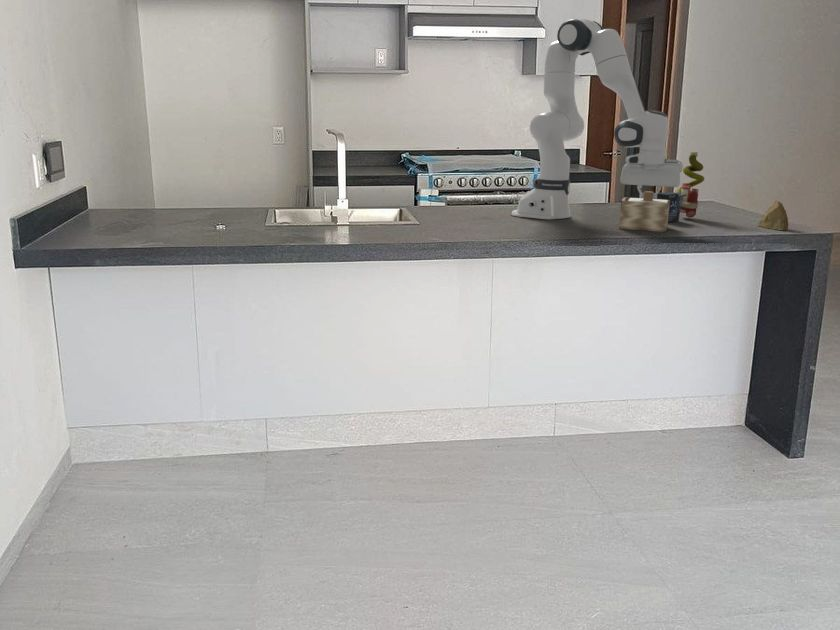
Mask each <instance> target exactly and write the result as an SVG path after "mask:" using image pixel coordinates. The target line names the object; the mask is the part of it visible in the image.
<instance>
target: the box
mask: <svg viewBox="0 0 840 630" xmlns="http://www.w3.org/2000/svg"><path fill="white" fill-rule="evenodd" d="M681 197H682V194H681V193H676V192H673V191H665V192H659V193H658V194H657V199H661V200H670V206H669V216H668V223H674V222H679V221H680V213H681V212H680V206H681Z"/></svg>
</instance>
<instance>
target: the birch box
mask: <svg viewBox="0 0 840 630" xmlns="http://www.w3.org/2000/svg"><path fill="white" fill-rule="evenodd" d="M630 198H631V197H623V198H622V199H621V202H620V211H619V224H618V229H619V230H634V231H650V232H661V233H662V232H664V233H666V232H667V229H668V225H669V222H668V216H669V206H670V200H668V202H667V203H650V202H633V201H628V200H629V199H630ZM642 199H643V198H642ZM659 200H661V199H659Z"/></svg>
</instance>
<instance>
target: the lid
mask: <svg viewBox="0 0 840 630" xmlns="http://www.w3.org/2000/svg"><path fill="white" fill-rule="evenodd" d="M643 193H644V198H643V199H642V198H639V197H629V198H630V199H629V200H628V201H633V202H650V203H667V202H668V200H659V199H652V198H653V193H654V191H650V190H648V191H647V190H645V191H644V192H643Z"/></svg>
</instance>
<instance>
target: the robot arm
mask: <svg viewBox="0 0 840 630" xmlns="http://www.w3.org/2000/svg"><path fill="white" fill-rule="evenodd" d="M556 35H557V36H556V37H557V40H555V41H554V42H552V43H550V44H549V46H548V48H547V51H546V55H545V56H546V57H545V62H544V74H543V75H544V77H543V79H544V80H543V95H544V97H545V99H546V100H547V101H548V104H549V107H550V111H545V112H541V113H539V114H536V115H535V116H534V117H533V118H531V121H530V124H529V131H530V134H531V137H532V138H533V139H534V140H535V142H536V145H537V148H538V153H539V158H540V159H539V160H540V161H539V164H540V165H539V178H538V177H537V178H535V179H534V180H533V187H534V188H533V189H531V190H529V191H528V192H526V193H525V194H524V195H522V196H521V198H520V199H519V202H518V204H517V209H514V210H512V211H511V216H513V217H520V218H521V217H522V218H530V219H542V220H557V219H567V218H571V217H572V215H571V211H570V204H569V203H570V202H569V195H570V189H571V188H570V187H571V180H570V169H571V158H570V156H569V154H567V152H566V149H565V143H564V142H569V141H573V140H575V139H577V138H579V137H580V136H581V135H582V134H583V132H584V129H585V121H584V119H583V117H582V116H581V115H580V112H579V110H578V106H577V103H576V98H575V83H576V81H575V77H576V76H575V75H576V73H575V72H576V61H577V58H578V57H579V55H580V56H585V55H588V54H591V55H592V58H593V61H594V64H595V69H596V72H597V73H596V74H597V76H598V78H599V79H600V82H601V83H602V85H603V86H605V87H606V88H608V89H610V90H612V91H613V92H614V93H615V94H617V96H619V98H620V99H621V102H622V103H623V106H624V109H625V112H626V115H627V119H624V120H623V121H620V122H619V123H617V125H616V126H615V128H614V131H613V137H614V140H615V142H616V144H617V145H618V146H620V147H623V148H628V149H629V148H639V153H635V154H631V155H628V156H625V157H626V158H625V163H624V165H623V167H622V169H621V172H620V173H621V174H620V178H619V179H620V180H619V182H620V183H621V185H630V186H631V185H634V186H636V189H637V191H638V193H639V197H638V198H644V192H642V187H643V186H651V187H656V192H653V198H652V199H657V194H658V193H660V191H661V190H662V187H667V188H668V187H669V188H671V187H672V188H678V187H679V186H680V185H681V184H680V183H681V172H683V167H684V166H683V162H682V161H680V160H679V159H667V158H666V155H667V154H666V153H667V146H666V141H667V140H668V134H669V119H668V118H669V117H668V115H667V114H666V113H664V112H662V111H660V110H653V109H647V110H646V108H645V106H644V102H643V100H642V96H641V94H640V91H639V88H638V85H637V84H636V81H635V78H634V75H633V72H632V69H631V65H630V62H629V59H628V55H627V51H626V48H625V45H624V42H623V41H622V38H621V36H620V34H619V32H618V31H617V30H616V29H613V28H604V27H603V26H602V25H601V24H600V23H598V22H597V21H594V20H590V19H586V18H585V19H584V18H582V19H579V18H578V19H577V18H571V19H568V20H566V21H564V22H563V23H562V24H561V25H560V26H559V28H558V30H557V34H556Z"/></svg>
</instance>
